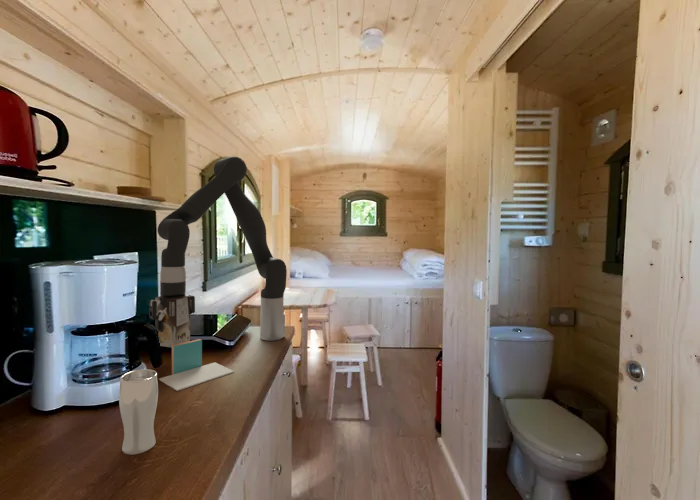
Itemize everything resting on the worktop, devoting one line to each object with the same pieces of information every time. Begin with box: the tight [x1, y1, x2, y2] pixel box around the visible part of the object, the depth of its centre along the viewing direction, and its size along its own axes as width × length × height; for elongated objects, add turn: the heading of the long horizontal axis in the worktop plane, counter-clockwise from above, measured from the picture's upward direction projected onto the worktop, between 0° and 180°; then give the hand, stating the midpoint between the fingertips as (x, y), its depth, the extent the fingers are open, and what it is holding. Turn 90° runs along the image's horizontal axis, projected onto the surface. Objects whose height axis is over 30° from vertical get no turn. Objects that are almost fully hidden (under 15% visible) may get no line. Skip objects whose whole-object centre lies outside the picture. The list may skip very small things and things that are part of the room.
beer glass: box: [118, 368, 159, 456], centre depth 75 cm, size 7×7×15 cm
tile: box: [171, 338, 203, 375], centre depth 115 cm, size 9×2×9 cm, turn 141°
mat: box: [158, 362, 235, 392], centre depth 111 cm, size 18×11×1 cm, turn 141°
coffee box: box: [154, 295, 191, 349], centre depth 120 cm, size 9×6×16 cm
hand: (172, 328), depth 121 cm, fingers closed on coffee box, 7 cm apart
